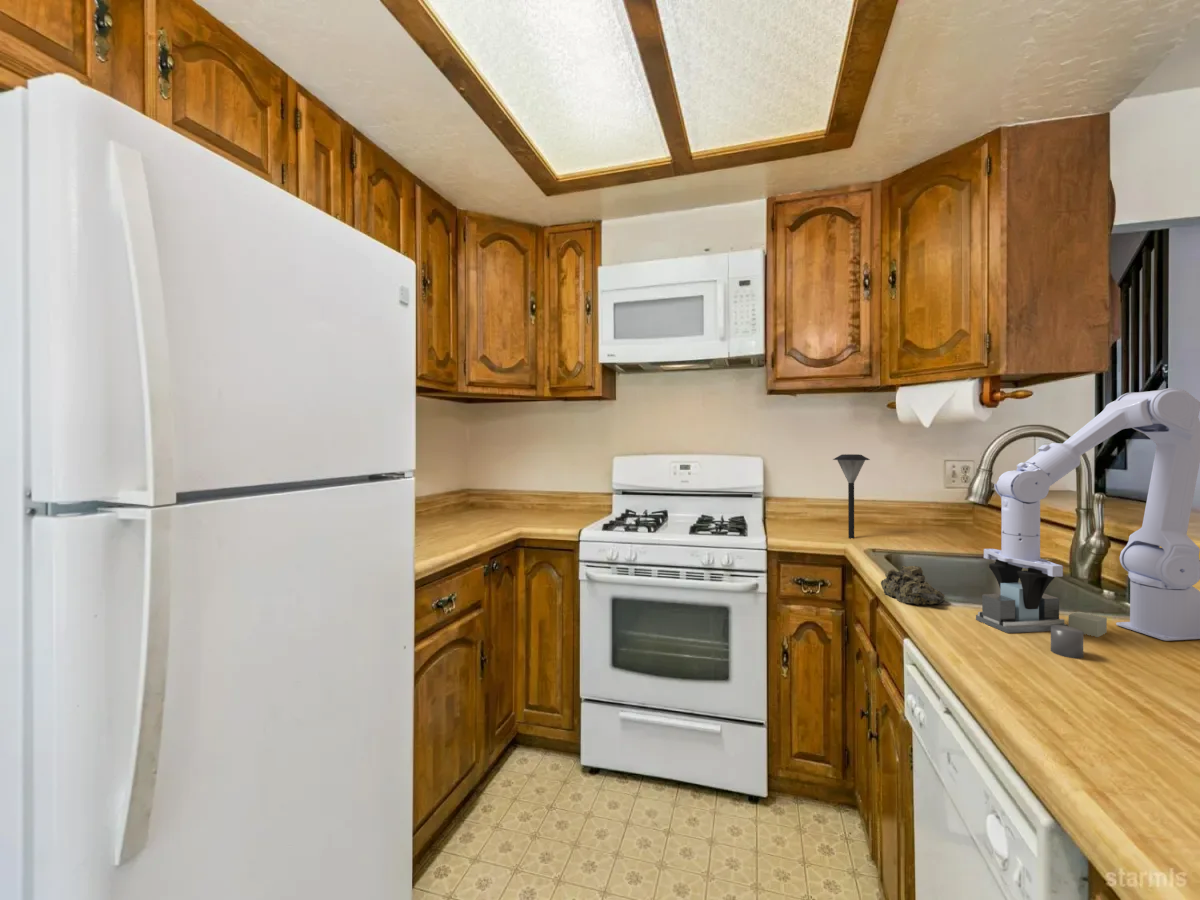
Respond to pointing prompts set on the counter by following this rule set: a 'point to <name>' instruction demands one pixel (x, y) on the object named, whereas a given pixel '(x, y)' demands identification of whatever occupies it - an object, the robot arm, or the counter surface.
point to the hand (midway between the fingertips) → (1020, 604)
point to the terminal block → (1088, 623)
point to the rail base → (1002, 614)
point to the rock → (910, 586)
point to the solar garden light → (851, 482)
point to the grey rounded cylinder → (1067, 641)
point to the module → (1019, 601)
